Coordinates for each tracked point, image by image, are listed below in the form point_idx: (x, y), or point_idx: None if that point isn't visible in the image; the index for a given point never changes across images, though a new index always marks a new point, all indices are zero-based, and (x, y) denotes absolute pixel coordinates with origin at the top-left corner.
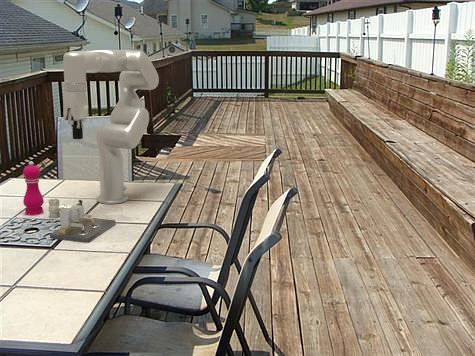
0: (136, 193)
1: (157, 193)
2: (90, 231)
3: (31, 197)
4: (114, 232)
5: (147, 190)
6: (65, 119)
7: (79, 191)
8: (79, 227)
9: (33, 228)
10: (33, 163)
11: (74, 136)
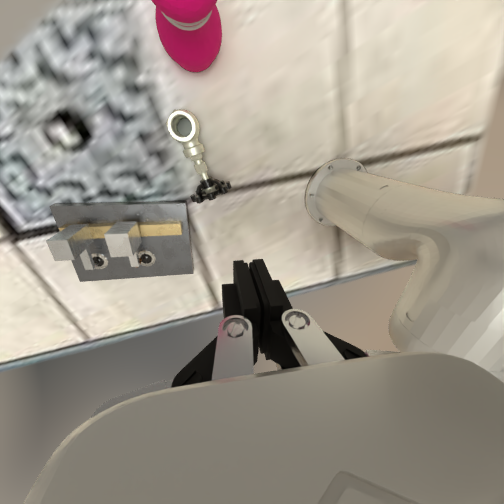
0: None
1: None
2: (115, 266)
3: (162, 30)
4: (155, 286)
5: None
6: (106, 422)
7: (404, 69)
8: None
9: (82, 125)
10: None
11: (222, 288)
